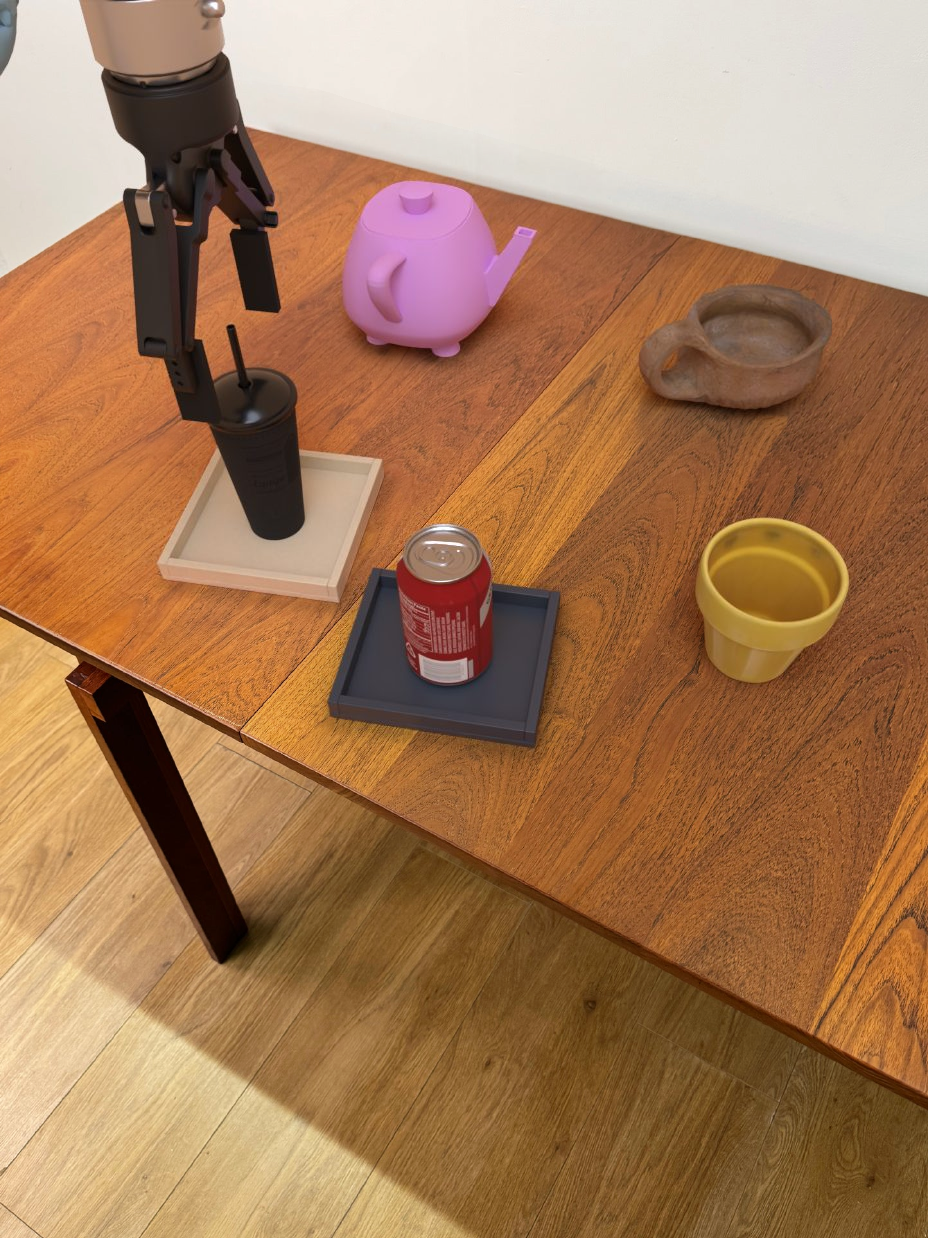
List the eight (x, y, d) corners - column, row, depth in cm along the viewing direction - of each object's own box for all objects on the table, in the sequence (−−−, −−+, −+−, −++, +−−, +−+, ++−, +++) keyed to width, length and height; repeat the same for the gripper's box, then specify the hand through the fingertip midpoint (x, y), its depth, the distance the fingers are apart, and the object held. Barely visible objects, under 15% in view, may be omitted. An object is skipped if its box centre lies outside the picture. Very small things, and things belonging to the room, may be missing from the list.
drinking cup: (310, 482, 91) (271, 288, 75) (330, 539, 86) (293, 345, 71) (227, 502, 90) (170, 308, 74) (243, 561, 85) (185, 368, 69)
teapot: (499, 408, 98) (498, 270, 86) (313, 372, 102) (288, 236, 90) (553, 297, 109) (559, 162, 98) (383, 269, 114) (370, 137, 102)
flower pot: (819, 713, 74) (855, 633, 67) (679, 696, 76) (698, 615, 68) (813, 608, 81) (845, 523, 73) (684, 593, 82) (703, 508, 75)
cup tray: (163, 579, 85) (156, 562, 83) (225, 457, 94) (220, 440, 93) (339, 603, 83) (336, 586, 81) (384, 475, 92) (382, 458, 91)
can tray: (330, 717, 76) (327, 701, 74) (375, 583, 84) (372, 567, 82) (534, 748, 73) (535, 732, 72) (559, 608, 82) (560, 591, 80)
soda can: (475, 701, 75) (471, 599, 66) (393, 677, 77) (378, 574, 68) (504, 634, 79) (504, 529, 70) (425, 613, 81) (415, 507, 72)
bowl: (709, 462, 90) (705, 357, 84) (617, 414, 100) (608, 318, 95) (856, 393, 95) (863, 290, 89) (754, 354, 106) (754, 260, 100)
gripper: (139, 166, 50) (225, 479, 66) (289, -18, 65) (328, 273, 82) (2, 155, 51) (120, 466, 67) (181, -23, 66) (242, 265, 83)
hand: (234, 361), depth 75 cm, fingers open, 13 cm apart
